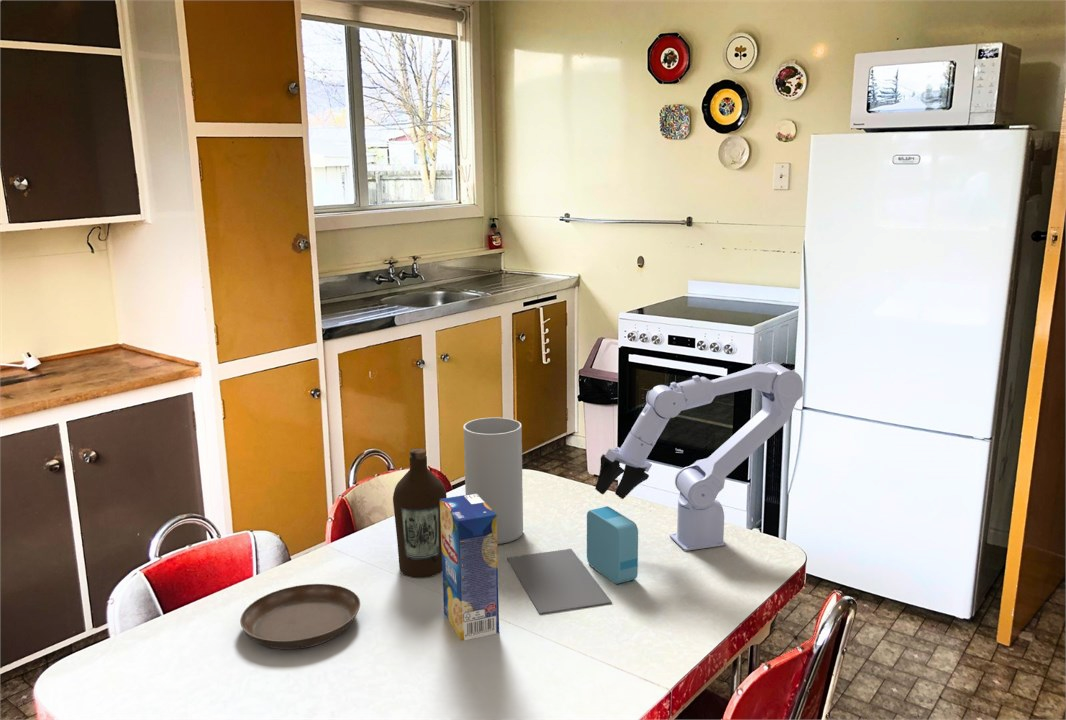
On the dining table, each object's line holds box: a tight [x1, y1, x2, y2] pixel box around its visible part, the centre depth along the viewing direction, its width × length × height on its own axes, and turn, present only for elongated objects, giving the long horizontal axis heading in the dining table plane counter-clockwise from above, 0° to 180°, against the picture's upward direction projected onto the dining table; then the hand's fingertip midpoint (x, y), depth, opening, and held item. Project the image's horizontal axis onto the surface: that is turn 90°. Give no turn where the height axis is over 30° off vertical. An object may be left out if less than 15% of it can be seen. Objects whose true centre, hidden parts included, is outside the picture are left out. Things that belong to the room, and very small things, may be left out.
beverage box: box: [440, 493, 500, 642], centre depth 151 cm, size 7×11×22 cm, turn 22°
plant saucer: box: [239, 583, 361, 650], centre depth 153 cm, size 21×21×3 cm
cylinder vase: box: [463, 417, 524, 545], centre depth 188 cm, size 12×12×25 cm
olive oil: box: [392, 447, 448, 579], centre depth 172 cm, size 11×11×25 cm
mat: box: [506, 548, 613, 615], centre depth 169 cm, size 14×24×1 cm, turn 16°
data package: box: [586, 506, 639, 585], centre depth 171 cm, size 12×4×12 cm, turn 28°
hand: (609, 494), depth 180 cm, fingers open, 7 cm apart
